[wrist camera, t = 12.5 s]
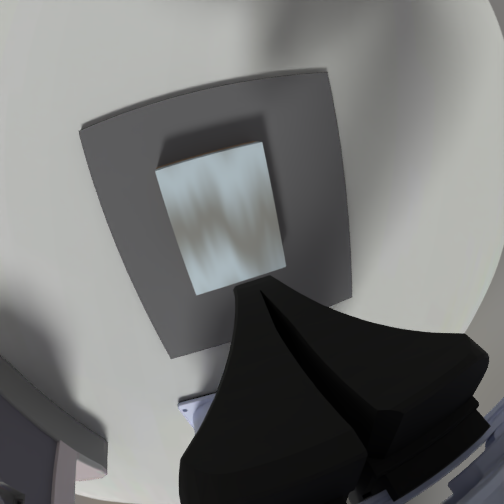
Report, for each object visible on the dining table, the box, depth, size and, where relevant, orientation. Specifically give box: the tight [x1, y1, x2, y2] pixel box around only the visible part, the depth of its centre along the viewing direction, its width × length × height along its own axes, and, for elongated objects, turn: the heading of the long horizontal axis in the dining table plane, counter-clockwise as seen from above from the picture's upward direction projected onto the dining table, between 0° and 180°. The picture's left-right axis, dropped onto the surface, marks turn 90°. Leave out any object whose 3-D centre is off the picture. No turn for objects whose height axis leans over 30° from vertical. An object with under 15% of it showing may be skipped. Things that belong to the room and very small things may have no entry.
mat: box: [79, 72, 352, 359], centre depth 19 cm, size 18×16×1 cm
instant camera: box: [0, 356, 108, 504], centre depth 15 cm, size 21×21×15 cm
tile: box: [155, 141, 286, 295], centre depth 17 cm, size 8×2×6 cm
